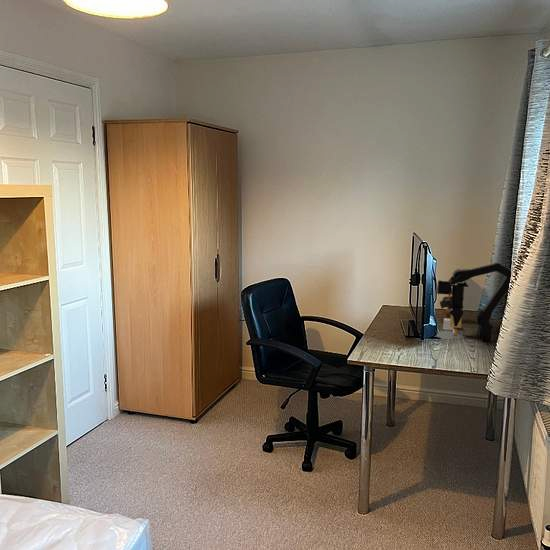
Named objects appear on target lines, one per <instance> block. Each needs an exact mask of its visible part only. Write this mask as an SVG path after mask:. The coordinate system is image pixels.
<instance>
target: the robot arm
mask: <svg viewBox="0 0 550 550" xmlns="http://www.w3.org/2000/svg"><path fill="white" fill-rule="evenodd" d="M511 269H512V268H507V267H505V266H503V265H502V264H500V263H499V262H494V263H490V264H487V265H482V266H477V267H474V268H467V269H466V268H464V269H463V268H462V269H456V270H454V271H453V273H452V275H451V277H450V278H449V279H448V280H446V281H445V280H438V281H437V286H436V294H437V295H447V294H449V293H451V288H452V294H451V295H450V297H451V299H447V300H442V299H441V300H440V301H439V305H440V308H441V309H445V308H448V306H450V307H451V309H450V314H451V315H452V316H453V319H454V326H457V325H458V323H459V321H460V319H461V317H463V315H464V300H465V299H464V297H465V295H464V294H465V287H466V288H468V287H469V285H468V284H467V282H466V281H468V280H470V279H472V278H474V277H477V276H478V277H479V276H481V275H486V274H491V273H494V272H497V273H499V274H500V275H501V274H502V275H503V277H502V279H501V282H500V285H499V286H498V288H496V290H495V292H494V293H493V294H492V296H491V297H490V299H489V300H488V301H487V303H486V305H484V307H483V308H480V307H478V310H477V311H476V312H475V313H474V321H475V323H476V324H477V326H478V327H477V332H476V337H477V338H478V339H482V342H483V343H485V342H493V341H494V339H492V332H493V328H494V326H493V325H492V323H491V322H490V321H491V317H492V315H493V312H494V310H495V309H496V307H497V306H498V304H499V303H500V302H501V300H502V299H503V298H504V296H505V295H506V293H507V292H508V290H509V289H510V288H509V283H510V277H511Z"/></svg>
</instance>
